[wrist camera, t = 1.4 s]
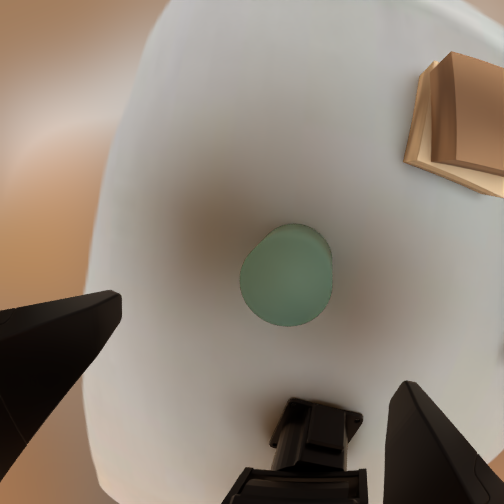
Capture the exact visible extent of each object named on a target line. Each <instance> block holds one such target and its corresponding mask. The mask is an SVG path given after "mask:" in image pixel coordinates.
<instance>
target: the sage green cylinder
mask: <svg viewBox="0 0 504 504" xmlns="http://www.w3.org/2000/svg"><path fill="white" fill-rule="evenodd" d="M240 289H241V293H242V295H243V298H244V300H245V302H246V304H247V305H248V306H249V308H250V309H251V310H252V311H253V312H254V313H255V314H256V315H257V316H258V317H260V318H261V319H263V320H265V321H267V322H269V323H271V324H274V325H279V326H297V325H301V324H304V323H307V322H309V321H311V320H313V319H314V318H315V317H317V316H318V315H319V314H320V313H321V312H322V311H323V310H324V308H325V307H326V305H327V304H328V301H329V299H330V296H331V292H332V255H331V250H330V247H329V245H328V243H327V242H326V240H325V239H324V238H323V236H322V235H321V234H320V233H318V232H317V231H316V230H314V229H312V228H310V227H308V226H305V225H301V224H288V225H284V226H281V227H278V228H276V229H275V230H273V231H272V232H271V233H270V234H268V235H267V236H266V237H265V238H264V239H263V240H262V241H261V242H260V243H259V244H258V245H257V246H256V247H255V248H254V249H253V250H252V251H251V253H250V254H249V255H248V256H247V258H246V259H245V261H244V263H243V265H242V268H241V272H240Z"/></svg>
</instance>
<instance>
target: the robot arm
mask: <svg viewBox="0 0 504 504" xmlns="http://www.w3.org/2000/svg"><path fill="white" fill-rule="evenodd" d="M121 318H122V297H121V295H120V294H119V293H117V292H114V291H112V290H106V291H101V292H96V293H91V294H86V295H81V296H75V297H70V298H65V299H60V300H55V301H50V302H44V303H39V304H34V305H29V306H23V307H18V308H16V309H15V308H12V309H7V310H1V311H0V482H1V480H2V479H3V477H4V476H5V475H6V473H7V472H8V470H9V469H10V467H11V466H12V465H13V463H14V462H15V461H16V459H17V458H18V456H19V455H20V454H21V453H22V451H23V450H24V448H25V447H26V446H27V444H28V443H29V441H30V440H31V439H32V437H33V436H34V435H35V433H36V432H37V431H38V430H39V428H40V427H41V426H42V424H43V423H44V422H45V420H46V419H47V418H48V417H49V415H50V414H51V413H52V411H53V410H54V409H55V408H56V406H57V405H58V404H59V402H60V401H61V400H62V399H63V397H64V396H65V395H66V394H67V392H68V391H69V390H70V389H71V387H72V386H73V385H74V384H75V382H76V381H77V380H78V379H79V378H80V376H81V375H82V374H83V373H84V372H85V370H86V369H87V368H88V367H89V365H90V364H91V363H92V362H93V361H94V359H95V358H96V357H97V356H98V354H99V353H100V351H101V350H102V348H103V347H104V345H105V344H106V342H107V341H108V339H109V338H110V336H111V335H112V333H113V332H114V330H115V329H116V327H117V326H118V324H119V323H120V321H121ZM292 404H296V405H292ZM356 419H359V420H356ZM362 422H363V416H362V415H361V414H357V413H353V412H348V411H343V410H339V409H335V408H330V407H326V406H322V405H318V404H314V403H310V402H306V401H303V400H299V399H295V398H292V399H290V400H289V401H288V402H287V405H286V407H285V409H284V412H283V414H282V416H281V418H280V421H279V423H278V425H277V427H276V430H275V432H274V434H273V436H272V438H271V440H270V446H271V447H273V448H276V452H275V456H274V460H273V463H272V467H271V470H259V469H253V468H249V467H246V468H245V469H244V471H243V472H242V474H241V475H240V476H239V477H238V479H237V480H236V482H235V484H234V485H233V487H232V488H231V490H230V491H229V493H228V494H227V496H226V497H225V499H224V500H223V502H222V503H221V504H368V487H367V472H366V469H359V470H354V471H346V470H347V445H348V443H349V442H350V440H351V439H352V437H353V436H354V434H355V433H356V431H357V430H358V428H359V427H360V425H361V424H362ZM383 504H504V482H503V481H502V480H501V479H500V478H499V477H498V476H497V475H496V474H495V473H494V472H493V471H492V469H491V468H490V467H489V466H488V465H487V464H486V462H485V461H484V460H483V459H482V458H481V456H480V455H479V454H477V452H476V451H475V449H474V448H473V447H472V446H471V445H470V443H469V442H468V441H467V440H466V439H465V438H464V436H463V435H462V434H461V433H460V432H459V431H458V429H457V428H456V427H455V426H454V425H453V424H452V422H451V421H450V420H449V419H448V418H447V417H446V416H445V414H444V413H443V412H442V411H441V410H440V409H439V408H438V406H437V405H436V404H435V403H434V402H433V401H432V400H431V398H430V397H429V396H428V395H427V394H426V393H425V392H424V391H423V389H422V388H421V387H420V386H419V385H418V384H417V383H416V382H412V381H407V380H406V381H403V382H402V383H401V385H400V386H399V388H398V389H397V391H396V392H395V394H394V395H393V397H392V398H391V400H390V404H389V413H388V424H387V433H386V443H385V476H384V497H383Z"/></svg>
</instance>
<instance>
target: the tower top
mask: <svg viewBox="0 0 504 504" xmlns="http://www.w3.org/2000/svg"><path fill="white" fill-rule="evenodd" d="M430 88H431V114H432V142H431V162H434V163H440V164H445V165H451V166H456V167H461V168H466V169H471V170H475V171H480V172H484V173H489V174H493V175H497V176H501V177H504V68H502V67H499V66H496V65H493V64H491V63H488V62H485V61H482V60H479V59H476V58H473V57H469V56H466V55H463V54H459V53H456V52H452V51H451V52H450V53H449V54H448V55H447V56H446V57H445V58H444V59H443V60H442V61H441V62H440V63H439V64H438V65H437V66H436V67H435V68H434V69H433V70H432V71H431V72H430Z"/></svg>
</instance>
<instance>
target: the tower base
mask: <svg viewBox="0 0 504 504" xmlns="http://www.w3.org/2000/svg"><path fill="white" fill-rule="evenodd" d="M438 64H439V62H437V61H435V60H434V61H433V62H432V64H431V65H430V66H429V67H428V68H427V69H426V70H425V71H424V72H423V73H422V74H421V75H420V76H419V83H418V90H417V96H416V102H415V107H414V113H413V118H412V123H411V128H410V133H409V138H408V143H407V147H406V151H405V156H404V160H403V162H404V163H407V164H410V165H412V166H415V167H418V168H420V169H423V170H426V171H428V172H431V173H433V174H436V175H439V176H441V177H443V178H446V179H448V180H451V181H453V182H456V183H458V184H460V185H463V186H465V187H467V188H469V189H472V190H474V191H476V192H478V193H480V194H485V195H491V196H496V197H501V198H504V177H501V176H497V175H493V174H489V173H484V172H480V171H475V170H471V169H466V168H461V167H456V166H451V165H445V164H440V163H434V162H431V142H432V114H431V88H430V72H431V71H432V70H433V69H434V68H435V67H436V66H437V65H438Z"/></svg>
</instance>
